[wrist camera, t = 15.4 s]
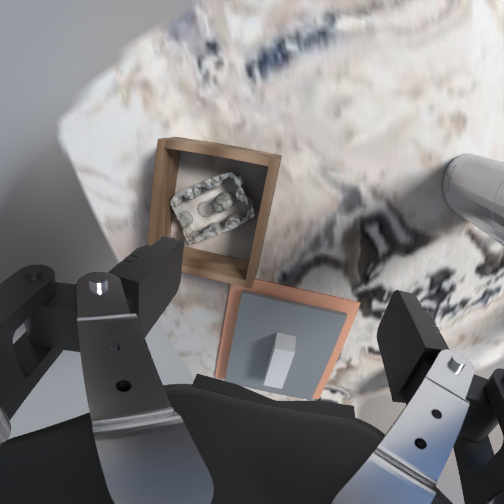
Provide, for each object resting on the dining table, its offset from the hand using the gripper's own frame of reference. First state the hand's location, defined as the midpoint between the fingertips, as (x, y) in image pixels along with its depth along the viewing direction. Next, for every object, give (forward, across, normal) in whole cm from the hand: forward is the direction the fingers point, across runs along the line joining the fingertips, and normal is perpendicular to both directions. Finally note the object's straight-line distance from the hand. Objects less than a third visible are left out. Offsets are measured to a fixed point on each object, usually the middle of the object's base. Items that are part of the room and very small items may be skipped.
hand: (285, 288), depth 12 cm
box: (+33, +10, +7) cm, 35 cm away
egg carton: (+34, +10, +7) cm, 36 cm away
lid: (+32, -4, +28) cm, 42 cm away
